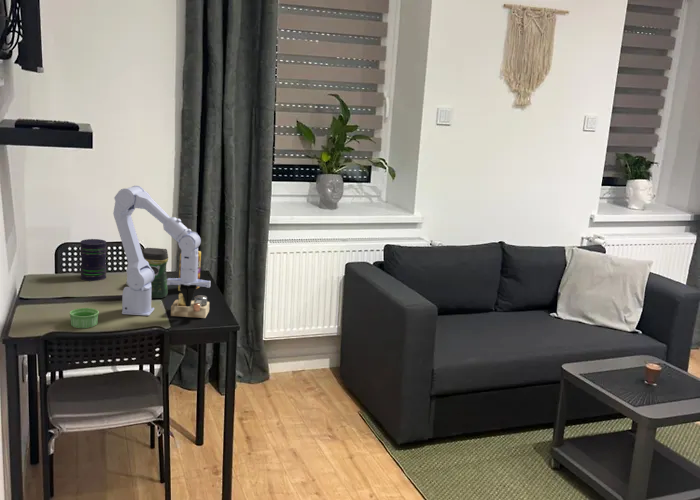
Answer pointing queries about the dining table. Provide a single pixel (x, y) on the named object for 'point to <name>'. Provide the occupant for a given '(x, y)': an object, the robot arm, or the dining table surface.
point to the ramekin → (84, 317)
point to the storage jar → (93, 259)
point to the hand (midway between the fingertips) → (188, 305)
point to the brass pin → (181, 300)
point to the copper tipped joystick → (199, 302)
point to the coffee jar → (157, 270)
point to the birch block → (189, 310)
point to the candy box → (198, 268)
